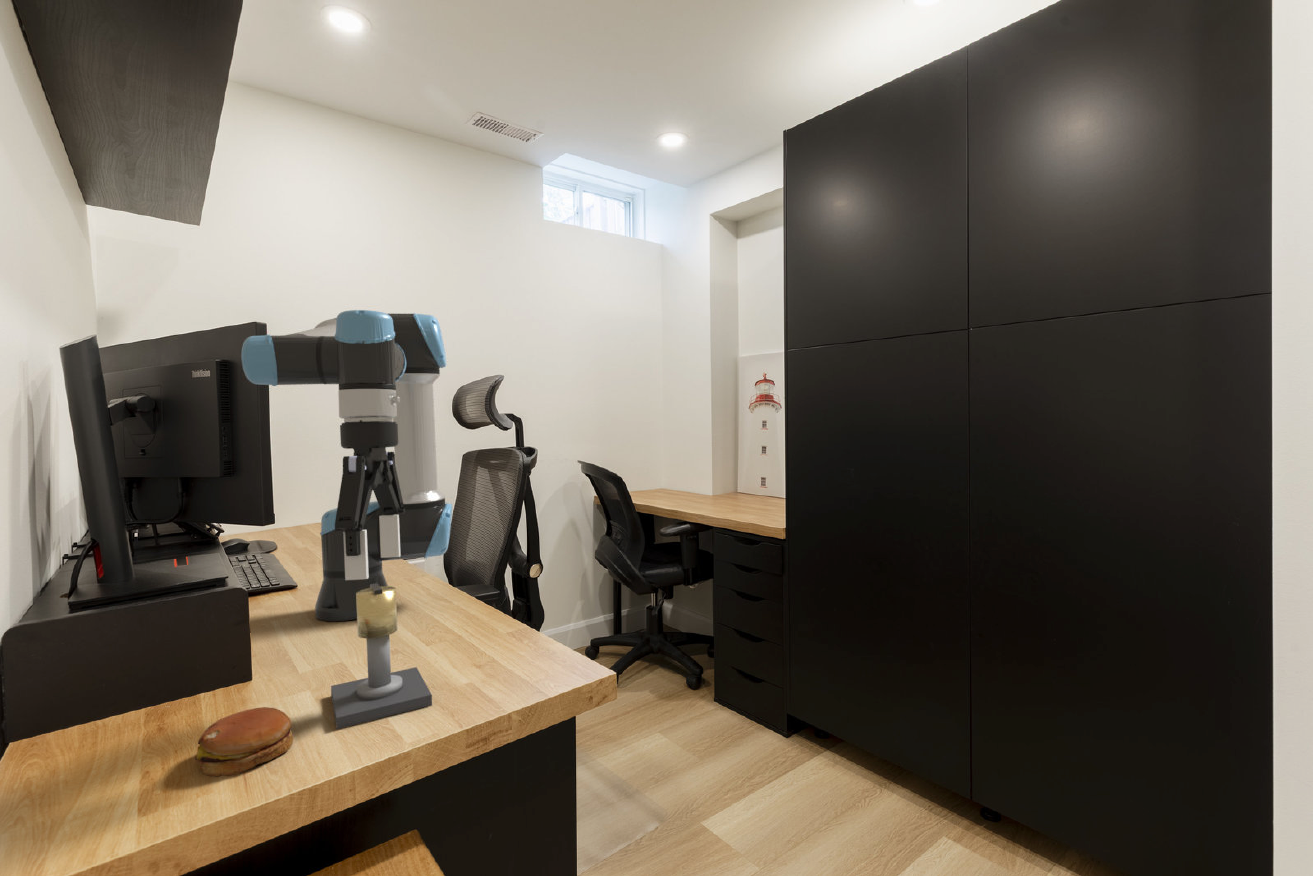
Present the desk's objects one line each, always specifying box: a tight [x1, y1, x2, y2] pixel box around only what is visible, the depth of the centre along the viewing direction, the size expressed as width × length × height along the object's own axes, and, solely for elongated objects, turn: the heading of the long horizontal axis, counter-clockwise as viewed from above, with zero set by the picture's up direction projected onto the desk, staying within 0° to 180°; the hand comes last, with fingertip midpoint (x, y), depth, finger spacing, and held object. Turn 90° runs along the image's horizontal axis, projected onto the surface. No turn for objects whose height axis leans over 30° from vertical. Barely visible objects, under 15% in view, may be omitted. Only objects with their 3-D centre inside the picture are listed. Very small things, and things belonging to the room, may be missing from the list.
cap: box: [356, 583, 398, 639], centre depth 88 cm, size 5×5×7 cm
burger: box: [194, 706, 294, 777], centre depth 74 cm, size 10×9×5 cm
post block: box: [330, 635, 433, 730], centre depth 88 cm, size 12×12×10 cm
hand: (375, 567), depth 88 cm, fingers open, 13 cm apart
